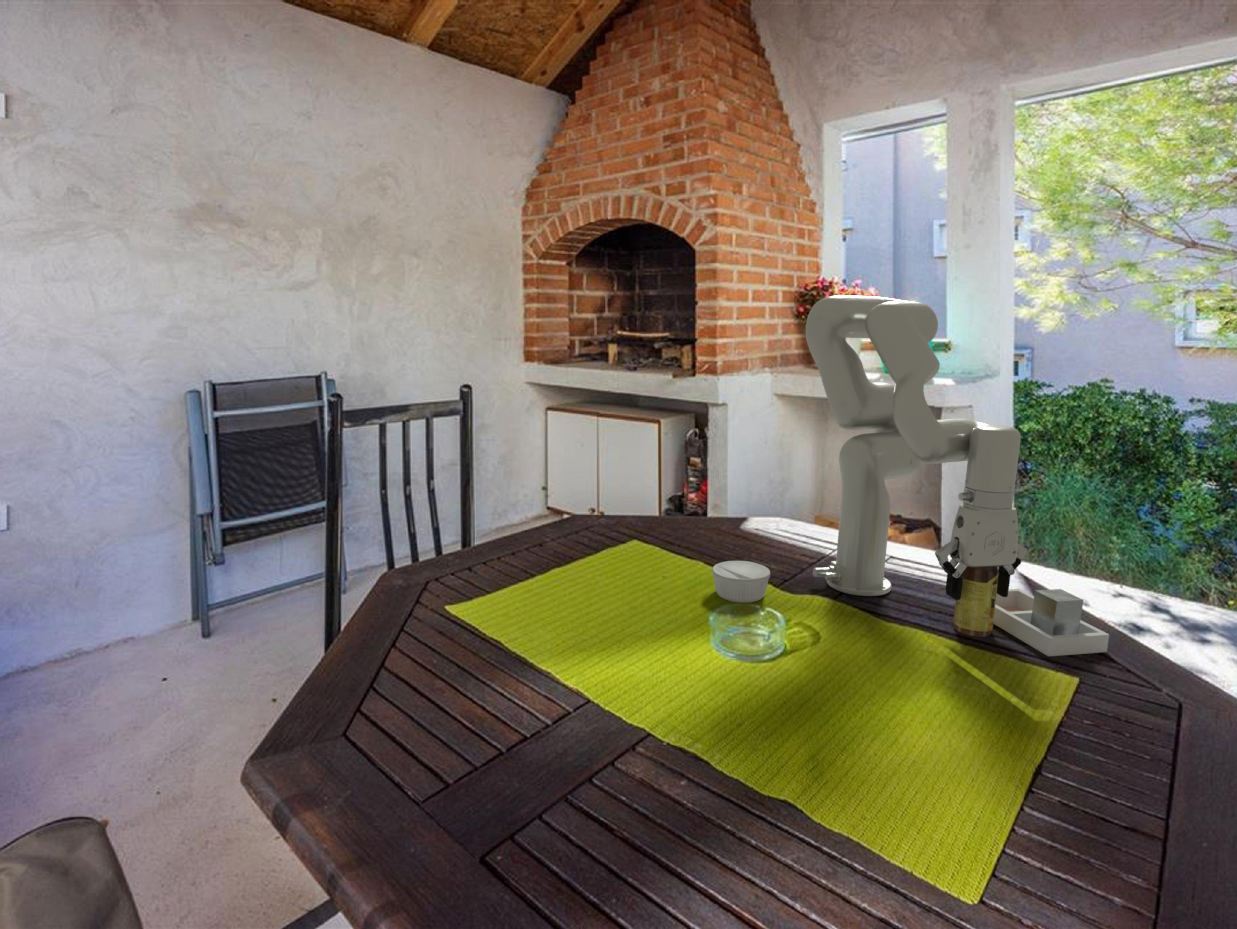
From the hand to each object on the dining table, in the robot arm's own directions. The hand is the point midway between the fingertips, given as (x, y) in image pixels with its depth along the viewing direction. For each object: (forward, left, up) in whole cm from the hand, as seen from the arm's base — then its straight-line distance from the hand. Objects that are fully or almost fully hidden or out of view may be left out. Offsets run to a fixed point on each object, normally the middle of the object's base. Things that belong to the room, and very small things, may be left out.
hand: (976, 595), depth 129 cm
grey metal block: (+11, -6, -6) cm, 14 cm away
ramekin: (-34, +24, -8) cm, 42 cm away
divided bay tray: (+11, -1, -7) cm, 13 cm away
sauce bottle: (0, 0, -7) cm, 7 cm away
